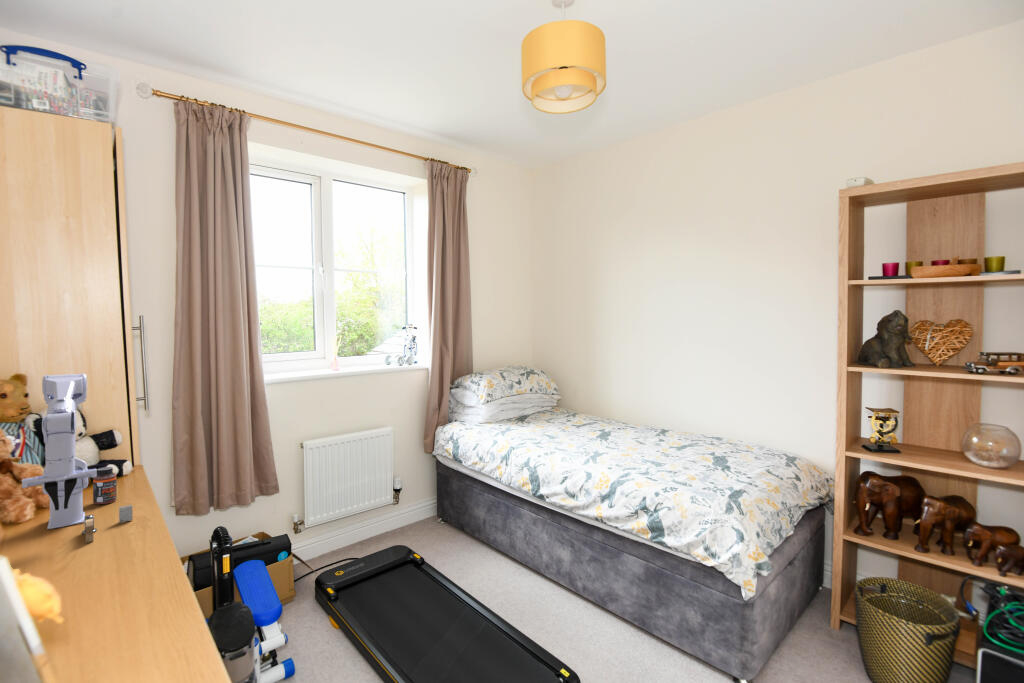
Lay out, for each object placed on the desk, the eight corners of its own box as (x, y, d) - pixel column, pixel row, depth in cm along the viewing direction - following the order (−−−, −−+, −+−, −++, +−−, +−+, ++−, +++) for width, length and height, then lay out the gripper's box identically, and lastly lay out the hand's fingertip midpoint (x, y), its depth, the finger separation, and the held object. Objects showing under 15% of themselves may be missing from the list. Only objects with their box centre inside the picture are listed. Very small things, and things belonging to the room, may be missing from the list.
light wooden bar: (85, 533, 136) (85, 518, 136) (92, 532, 137) (92, 516, 137) (85, 542, 130) (85, 526, 130) (93, 541, 131) (92, 525, 131)
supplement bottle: (103, 506, 157) (102, 471, 156) (88, 505, 158) (87, 470, 158) (121, 500, 163) (120, 466, 162) (107, 498, 164) (106, 465, 163)
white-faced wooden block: (119, 522, 144) (119, 507, 144) (132, 519, 146) (131, 504, 146) (119, 523, 143) (119, 508, 143) (132, 520, 145) (132, 506, 145)
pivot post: (81, 531, 137) (81, 515, 137) (96, 528, 140) (96, 513, 139) (81, 535, 135) (81, 519, 135) (97, 532, 137) (96, 516, 137)
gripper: (20, 466, 121) (21, 520, 122) (96, 456, 131) (97, 506, 131) (23, 460, 127) (24, 511, 127) (96, 451, 136) (97, 499, 137)
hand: (61, 508), depth 130 cm, fingers closed
